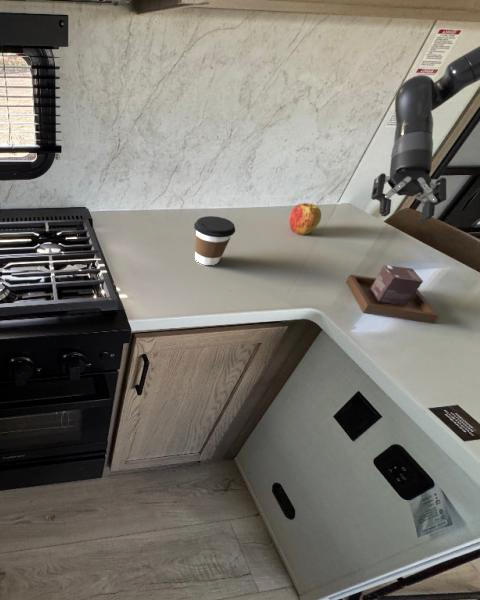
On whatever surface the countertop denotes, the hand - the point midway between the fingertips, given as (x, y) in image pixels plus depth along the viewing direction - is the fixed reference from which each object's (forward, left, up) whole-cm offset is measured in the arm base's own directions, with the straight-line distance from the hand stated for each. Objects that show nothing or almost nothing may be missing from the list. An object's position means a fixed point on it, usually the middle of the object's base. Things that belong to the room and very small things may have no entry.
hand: (405, 217), depth 84 cm
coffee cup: (+43, +4, -17) cm, 47 cm away
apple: (+13, -25, -17) cm, 33 cm away
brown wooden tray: (0, +12, -17) cm, 21 cm away
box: (+1, +12, -17) cm, 20 cm away
